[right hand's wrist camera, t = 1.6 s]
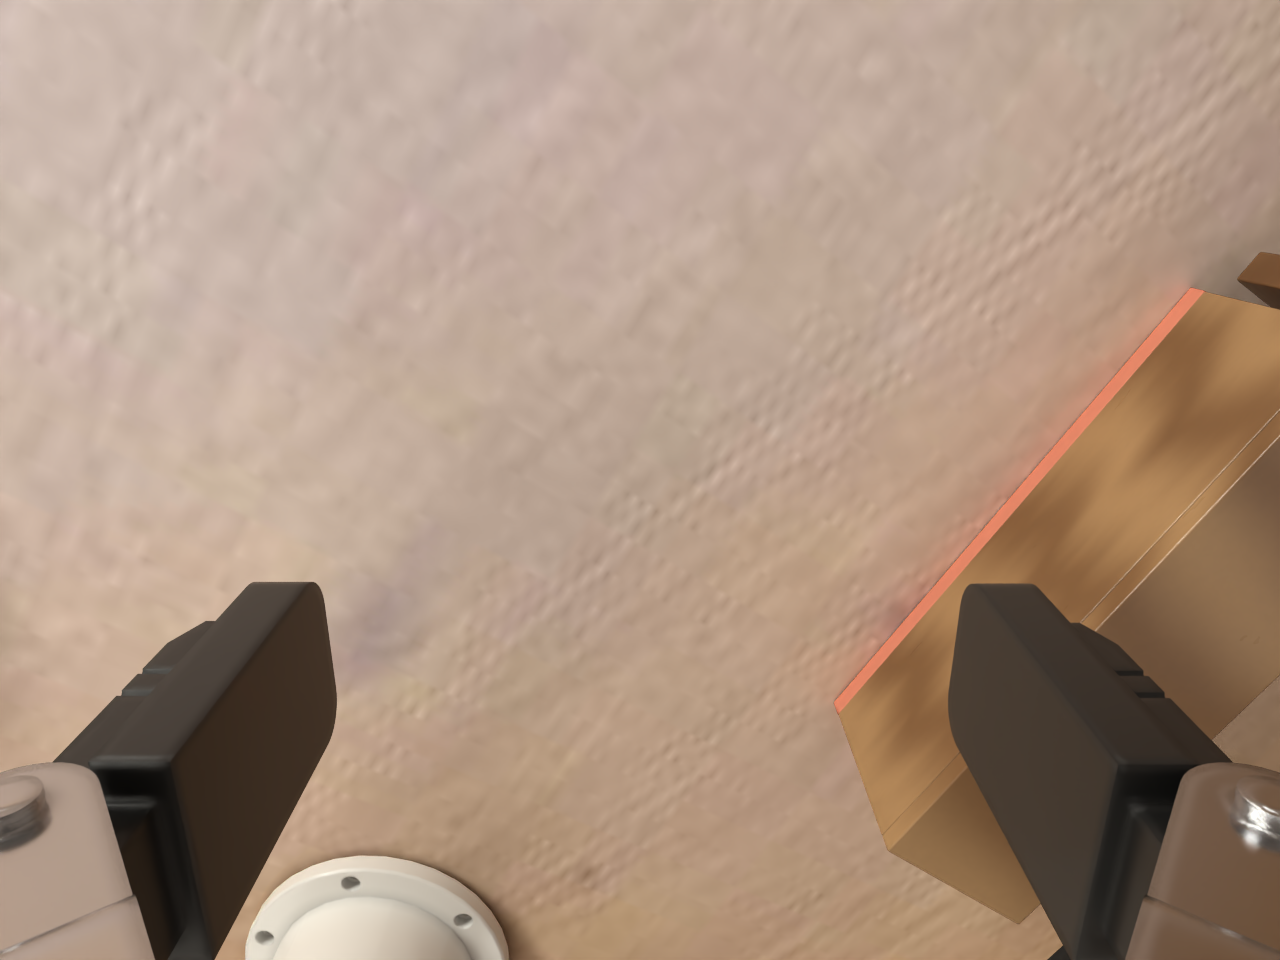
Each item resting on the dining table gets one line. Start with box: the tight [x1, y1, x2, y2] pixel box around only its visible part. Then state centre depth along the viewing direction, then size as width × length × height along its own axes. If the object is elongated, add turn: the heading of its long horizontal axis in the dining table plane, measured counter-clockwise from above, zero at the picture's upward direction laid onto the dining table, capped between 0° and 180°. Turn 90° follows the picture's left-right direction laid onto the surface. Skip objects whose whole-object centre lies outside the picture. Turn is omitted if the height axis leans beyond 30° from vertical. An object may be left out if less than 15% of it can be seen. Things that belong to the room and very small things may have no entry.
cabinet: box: [834, 288, 1280, 924], centre depth 33 cm, size 22×6×9 cm, turn 146°
